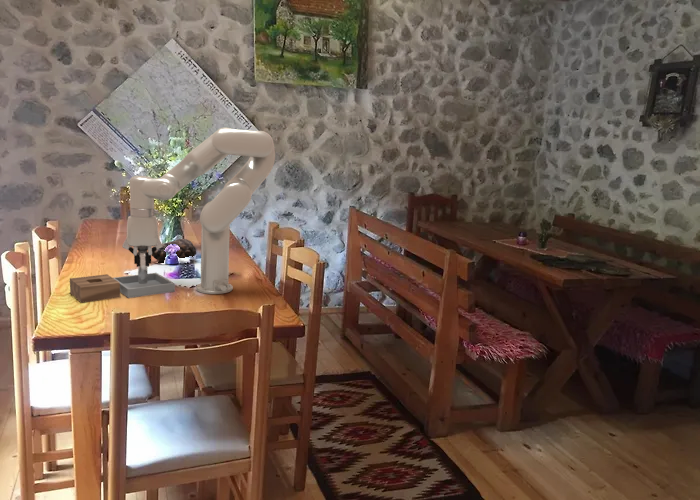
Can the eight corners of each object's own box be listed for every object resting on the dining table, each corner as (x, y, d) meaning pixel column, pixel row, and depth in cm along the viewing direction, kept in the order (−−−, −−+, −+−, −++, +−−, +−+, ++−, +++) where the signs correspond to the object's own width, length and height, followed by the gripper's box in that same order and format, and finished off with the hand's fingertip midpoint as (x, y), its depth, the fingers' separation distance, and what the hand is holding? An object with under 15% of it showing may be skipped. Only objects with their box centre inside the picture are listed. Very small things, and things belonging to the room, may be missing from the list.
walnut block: (120, 297, 192) (119, 282, 191) (81, 302, 184) (80, 287, 183) (107, 288, 200) (107, 274, 199) (70, 293, 193) (69, 278, 192)
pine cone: (149, 261, 241) (148, 237, 239) (192, 259, 250) (192, 236, 247) (154, 267, 232) (154, 242, 230) (199, 264, 241) (199, 240, 239)
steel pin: (151, 283, 202) (151, 245, 199) (139, 285, 199) (138, 246, 196) (146, 280, 205) (146, 242, 202) (134, 281, 202) (133, 243, 199)
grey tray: (174, 291, 202) (174, 283, 201) (128, 298, 191) (128, 289, 191) (156, 280, 214) (156, 272, 213) (111, 286, 203) (111, 277, 203)
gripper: (166, 211, 203) (166, 262, 207) (116, 211, 197) (117, 263, 201) (168, 215, 196) (168, 267, 200) (116, 214, 191) (117, 269, 194)
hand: (142, 265), depth 201 cm, fingers closed on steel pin, 2 cm apart
